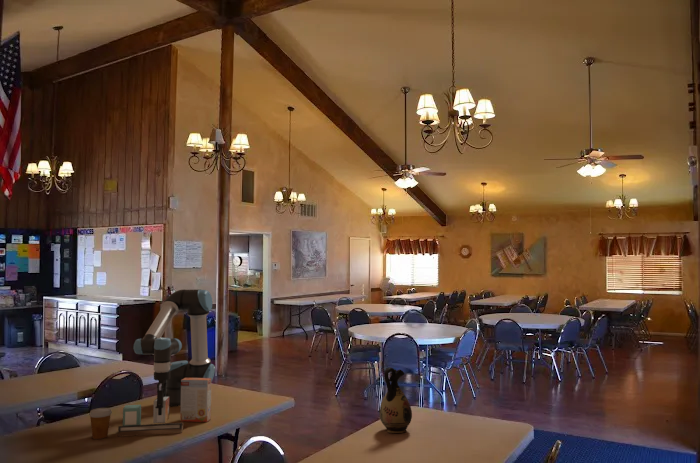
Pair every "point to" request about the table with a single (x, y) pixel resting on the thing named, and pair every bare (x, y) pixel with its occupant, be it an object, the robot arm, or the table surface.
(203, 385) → the cracker box
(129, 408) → the tea box
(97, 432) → the disposable coffee cup
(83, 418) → the table surface
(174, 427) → the shelf board
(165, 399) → the small box
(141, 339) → the robot arm
